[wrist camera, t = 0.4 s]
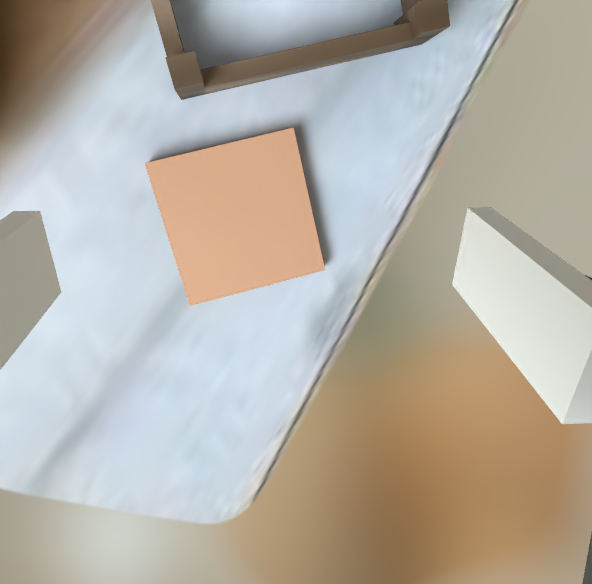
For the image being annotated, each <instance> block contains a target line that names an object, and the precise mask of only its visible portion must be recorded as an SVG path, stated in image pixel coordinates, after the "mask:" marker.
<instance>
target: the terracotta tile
mask: <svg viewBox="0 0 592 584" xmlns="http://www.w3.org/2000/svg"><path fill="white" fill-rule="evenodd" d="M145 166H146V169H147V172H148V175H149V178H150V181H151V185H152V188H153V191H154V194H155V197H156V200H157V204H158V207H159V210H160V213H161V216H162V219H163V222H164V226H165V229H166V232H167V235H168V238H169V241H170V245H171V248H172V251H173V254H174V257H175V260H176V264H177V267H178V270H179V273H180V276H181V279H182V282H183V286H184V289H185V292H186V295H187V298H188V301H189V305H190V306H191V305H195V304H199V303H203V302H206V301H210V300H214V299H218V298H222V297H225V296H229V295H233V294H237V293H240V292H244V291H248V290H252V289H255V288H259V287H263V286H267V285H270V284H274V283H278V282H282V281H285V280H289V279H293V278H297V277H300V276H304V275H308V274H312V273H315V272H319V271H323V270H325V267H324V262H323V258H322V253H321V249H320V244H319V240H318V235H317V231H316V226H315V222H314V217H313V213H312V208H311V204H310V199H309V195H308V190H307V186H306V181H305V177H304V172H303V168H302V163H301V159H300V154H299V150H298V145H297V141H296V136H295V132H294V127H293V128H289V129H285V130H281V131H277V132H273V133H268V134H264V135H260V136H256V137H252V138H248V139H243V140H239V141H235V142H231V143H227V144H223V145H218V146H214V147H210V148H206V149H202V150H198V151H193V152H189V153H185V154H181V155H177V156H173V157H168V158H164V159H160V160H156V161H152V162H148V163H145Z"/></svg>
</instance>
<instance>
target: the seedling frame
mask: <svg viewBox="0 0 592 584" xmlns="http://www.w3.org/2000/svg"><path fill="white" fill-rule="evenodd" d="M151 2H152V6H153V9H154V13H155V16H156V20H157V23H158V27H159V30H160V34H161V37H162V41H163V44H164V48H165V51H166V55H167V57H166V61H167V64H168V68H169V71H170V75H171V78H172V82H173V85H174V89H175V90H176V92H177V94H178V95H179V97H180V98H181V100H182V99H187V98H191V97H195V96H200V95H204V94H208V93H213V92H217V91H221V90H226V89H230V88H234V87H239V86H243V85H247V84H252V83H256V82H260V81H265V80H269V79H273V78H278V77H282V76H286V75H291V74H295V73H299V72H304V71H308V70H312V69H317V68H321V67H325V66H330V65H334V64H338V63H343V62H347V61H351V60H356V59H360V58H364V57H369V56H373V55H377V54H382V53H386V52H390V51H395V50H399V49H403V48H408V47H412V46H416V45H421V44H423V43H424V42H426V41H428V40H429V39H431V38H432V37H434V36H435V35H437V34H439V33H440V32H442V31H443V30H445V29H446V28H448V27H449V26H450V21H449V13H448V5H447V0H401V5H402V11H403V16H402V17H400V18H399V19H398V20H397V21H396V22H395V26H391V27H387V28H382V29H378V30H374V31H369V32H365V33H360V34H356V35H352V36H347V37H343V38H338V39H334V40H329V41H325V42H321V43H316V44H312V45H307V46H303V47H298V48H294V49H290V50H285V51H281V52H276V53H272V54H268V55H263V56H259V57H254V58H250V59H245V60H241V61H237V62H232V63H228V64H223V65H219V66H215V67H210V68H206V69H201V70H200V68H199V64H198V61H197V57H196V53H195V51H192V52H188V53H184V49H183V46H182V42H181V38H180V35H179V31H178V27H177V24H176V20H175V17H174V13H173V9H172V6H171V2H170V0H151Z"/></svg>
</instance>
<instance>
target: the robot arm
mask: <svg viewBox="0 0 592 584" xmlns="http://www.w3.org/2000/svg"><path fill="white" fill-rule="evenodd" d="M452 285H453V286H454V287H455V288H456V290H457V291H458V292H459V294H460V295H461V296H462V297H463V299H464V300H465V301H466V302H467V304H468V305H469V306H470V308H471V309H472V310H473V311H474V313H475V314H476V315H477V316H478V318H479V319H480V320H481V322H482V323H483V324H484V325H485V326H486V328H487V329H488V330H489V332H490V333H491V334H492V335H493V337H494V338H495V339H496V341H497V342H498V343H499V344H500V346H501V347H502V348H503V349H504V351H505V352H506V353H507V354H508V356H509V357H510V358H511V360H512V361H513V362H514V363H515V365H516V366H517V367H518V368H519V370H520V371H521V372H522V374H523V375H524V376H525V377H526V379H527V380H528V381H529V382H530V384H531V385H532V386H533V387H534V389H535V390H536V391H537V392H538V394H539V395H540V396H541V398H542V399H543V400H544V401H545V403H546V404H547V405H548V406H549V408H550V409H551V410H552V412H553V413H554V414H555V415H556V417H557V418H558V419H559V420H560V422H561V423H562V424H574V423H592V278H590V277H588V276H586V275H584V274H582V273H581V272H579V271H578V270H577V269H575V268H574V267H572V266H571V265H570V264H568V263H567V262H565V261H564V260H563V259H561V258H560V257H559V256H557V255H556V254H555V253H553V252H552V251H550V250H549V249H548V248H546V247H545V246H543V245H542V244H541V243H539V242H538V241H537V240H535V239H534V238H532V237H531V236H530V235H528V234H527V233H525V232H524V231H523V230H521V229H520V228H519V227H517V226H516V225H514V224H513V223H512V222H510V221H509V220H508V219H506V218H505V217H504V216H502V215H501V214H499V213H498V212H497V211H495V210H494V209H492V208H491V207H478V208H477V207H475V208H474V207H473V208H467V213H466V218H465V223H464V228H463V233H462V238H461V243H460V248H459V253H458V258H457V264H456V268H455V273H454V278H453V283H452ZM60 293H61V290H60V286H59V282H58V278H57V274H56V270H55V267H54V263H53V259H52V255H51V251H50V247H49V244H48V240H47V236H46V232H45V228H44V225H43V221H42V217H41V213H40V211H13V212H12V213H10V214H9V215H8V216H6V217H5V218H3V219H2V220H0V370H1V368H2V367H3V366H4V365H5V363H6V362H7V361H8V359H9V358H10V357H11V356H12V354H13V353H14V352H15V351H16V349H17V348H18V347H19V345H20V344H21V343H22V342H23V340H24V339H25V338H26V337H27V335H28V334H29V333H30V331H31V330H32V329H33V328H34V326H35V325H36V324H37V322H38V321H39V320H40V319H41V317H42V316H43V315H44V314H45V312H46V311H47V310H48V308H49V307H50V306H51V305H52V303H53V302H54V301H55V299H56V298H57V297H58V296H59V294H60ZM583 584H592V535H591V540H590V545H589V551H588V556H587V562H586V568H585V573H584V578H583Z"/></svg>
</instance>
